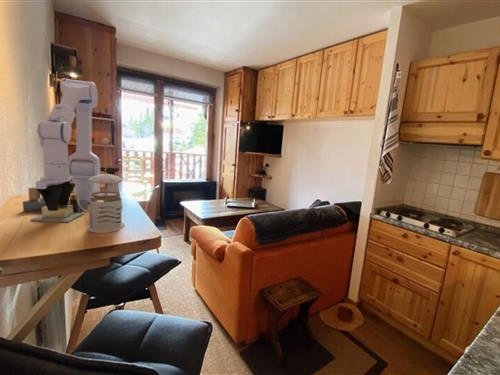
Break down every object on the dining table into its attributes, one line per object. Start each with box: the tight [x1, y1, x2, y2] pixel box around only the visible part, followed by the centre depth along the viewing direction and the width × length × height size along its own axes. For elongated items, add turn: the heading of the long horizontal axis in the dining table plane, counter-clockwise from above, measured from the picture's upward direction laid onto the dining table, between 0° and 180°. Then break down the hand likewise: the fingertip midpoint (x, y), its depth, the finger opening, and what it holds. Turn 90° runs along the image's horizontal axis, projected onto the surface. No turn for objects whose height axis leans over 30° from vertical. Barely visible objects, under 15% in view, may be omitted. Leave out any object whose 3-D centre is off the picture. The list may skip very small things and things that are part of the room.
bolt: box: [100, 165, 120, 189], centre depth 88 cm, size 6×5×15 cm
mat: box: [30, 212, 84, 223], centre depth 75 cm, size 8×10×1 cm
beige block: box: [41, 204, 73, 219], centre depth 75 cm, size 4×6×3 cm
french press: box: [77, 137, 126, 234], centre depth 69 cm, size 10×12×25 cm
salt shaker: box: [102, 175, 123, 218], centre depth 81 cm, size 6×6×13 cm
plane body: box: [22, 186, 89, 213], centre depth 82 cm, size 6×16×7 cm, turn 97°
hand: (58, 208), depth 75 cm, fingers closed on beige block, 4 cm apart
